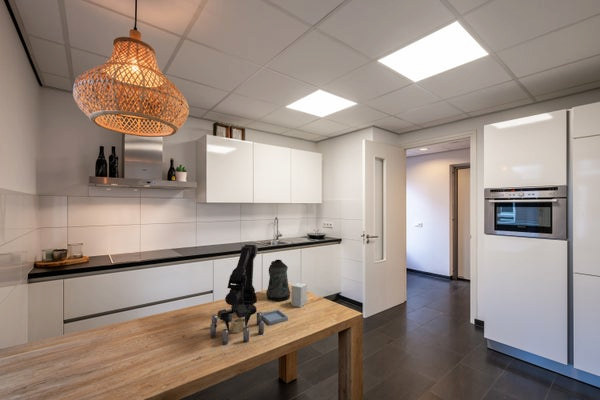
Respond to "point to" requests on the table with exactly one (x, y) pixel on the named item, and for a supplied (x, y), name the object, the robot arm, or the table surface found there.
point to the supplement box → (299, 294)
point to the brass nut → (237, 325)
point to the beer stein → (278, 282)
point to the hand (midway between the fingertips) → (237, 328)
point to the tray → (274, 317)
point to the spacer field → (245, 330)
